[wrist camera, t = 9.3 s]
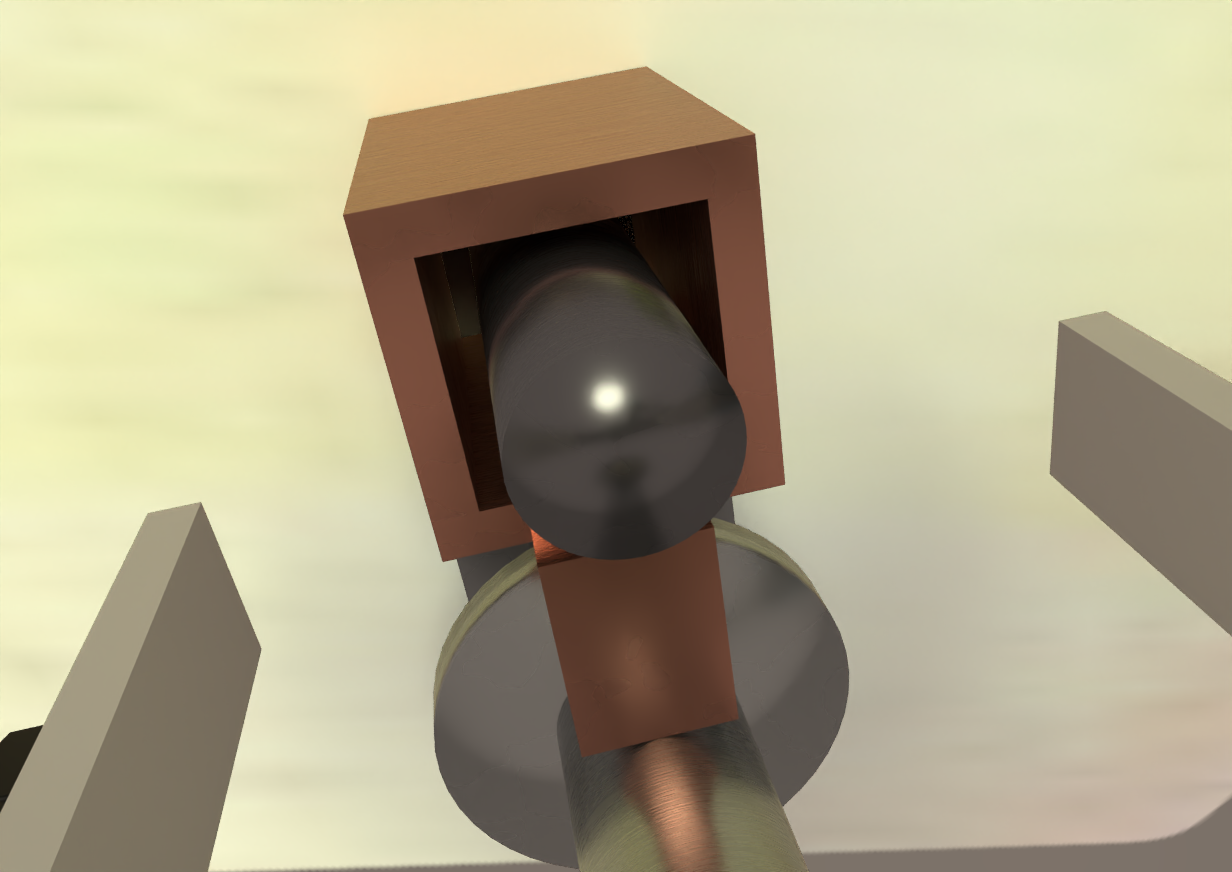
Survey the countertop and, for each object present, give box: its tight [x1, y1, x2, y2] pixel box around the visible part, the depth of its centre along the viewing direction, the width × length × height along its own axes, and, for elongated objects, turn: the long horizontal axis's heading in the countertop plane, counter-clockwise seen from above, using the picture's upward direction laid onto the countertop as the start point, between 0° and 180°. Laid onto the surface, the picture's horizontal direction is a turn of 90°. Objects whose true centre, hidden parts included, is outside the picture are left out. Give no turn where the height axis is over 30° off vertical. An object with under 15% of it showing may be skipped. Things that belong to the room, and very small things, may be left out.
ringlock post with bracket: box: [343, 67, 849, 872], centre depth 19 cm, size 11×20×29 cm, turn 9°
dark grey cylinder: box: [468, 217, 747, 560], centre depth 22 cm, size 4×4×14 cm
